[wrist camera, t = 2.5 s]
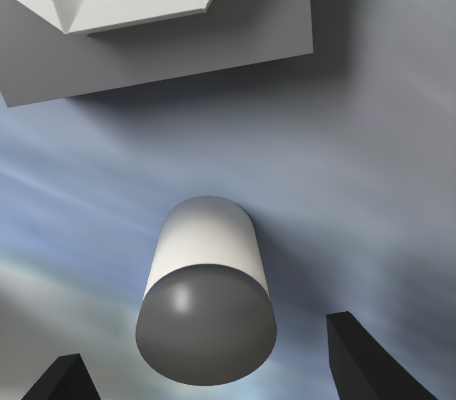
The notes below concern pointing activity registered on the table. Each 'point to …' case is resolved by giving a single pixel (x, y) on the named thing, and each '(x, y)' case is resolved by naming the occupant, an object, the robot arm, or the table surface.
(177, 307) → the white lens
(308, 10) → the grey square base
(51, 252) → the table surface
